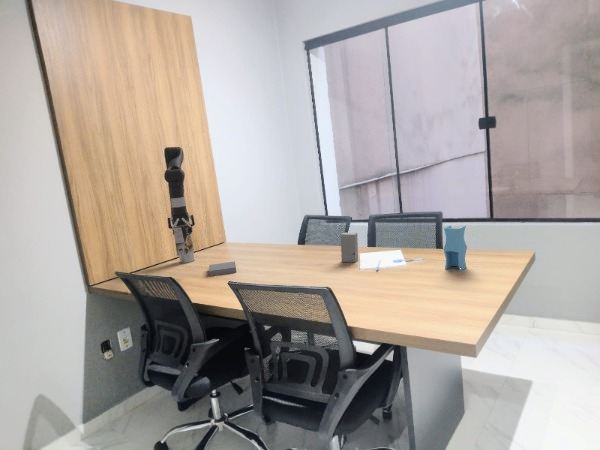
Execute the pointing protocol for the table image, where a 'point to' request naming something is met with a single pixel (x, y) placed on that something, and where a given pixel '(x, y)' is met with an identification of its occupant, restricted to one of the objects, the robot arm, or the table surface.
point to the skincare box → (349, 247)
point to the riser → (222, 268)
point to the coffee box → (183, 240)
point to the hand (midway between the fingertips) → (183, 234)
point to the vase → (455, 247)
